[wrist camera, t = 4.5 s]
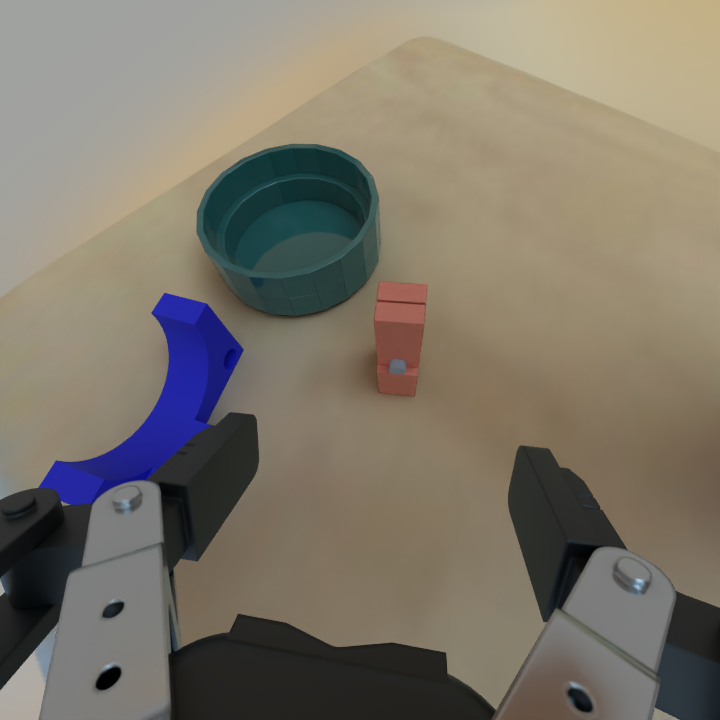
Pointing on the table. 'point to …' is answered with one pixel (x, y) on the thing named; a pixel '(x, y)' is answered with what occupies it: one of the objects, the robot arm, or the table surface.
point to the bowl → (292, 228)
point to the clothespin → (399, 335)
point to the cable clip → (161, 404)
